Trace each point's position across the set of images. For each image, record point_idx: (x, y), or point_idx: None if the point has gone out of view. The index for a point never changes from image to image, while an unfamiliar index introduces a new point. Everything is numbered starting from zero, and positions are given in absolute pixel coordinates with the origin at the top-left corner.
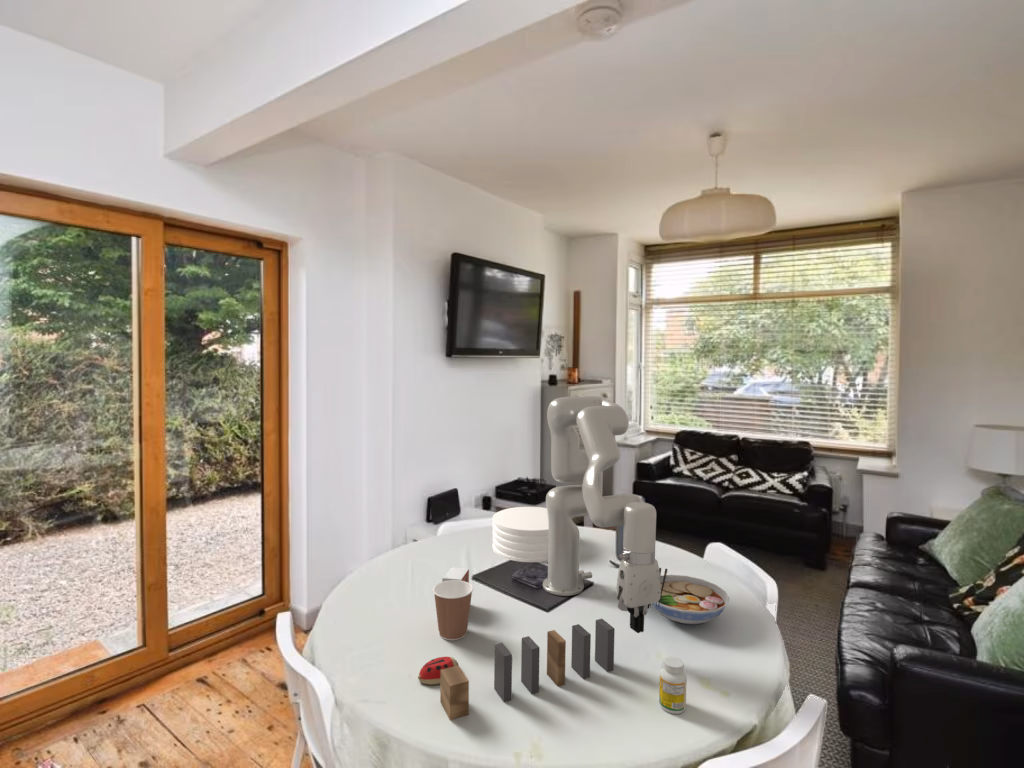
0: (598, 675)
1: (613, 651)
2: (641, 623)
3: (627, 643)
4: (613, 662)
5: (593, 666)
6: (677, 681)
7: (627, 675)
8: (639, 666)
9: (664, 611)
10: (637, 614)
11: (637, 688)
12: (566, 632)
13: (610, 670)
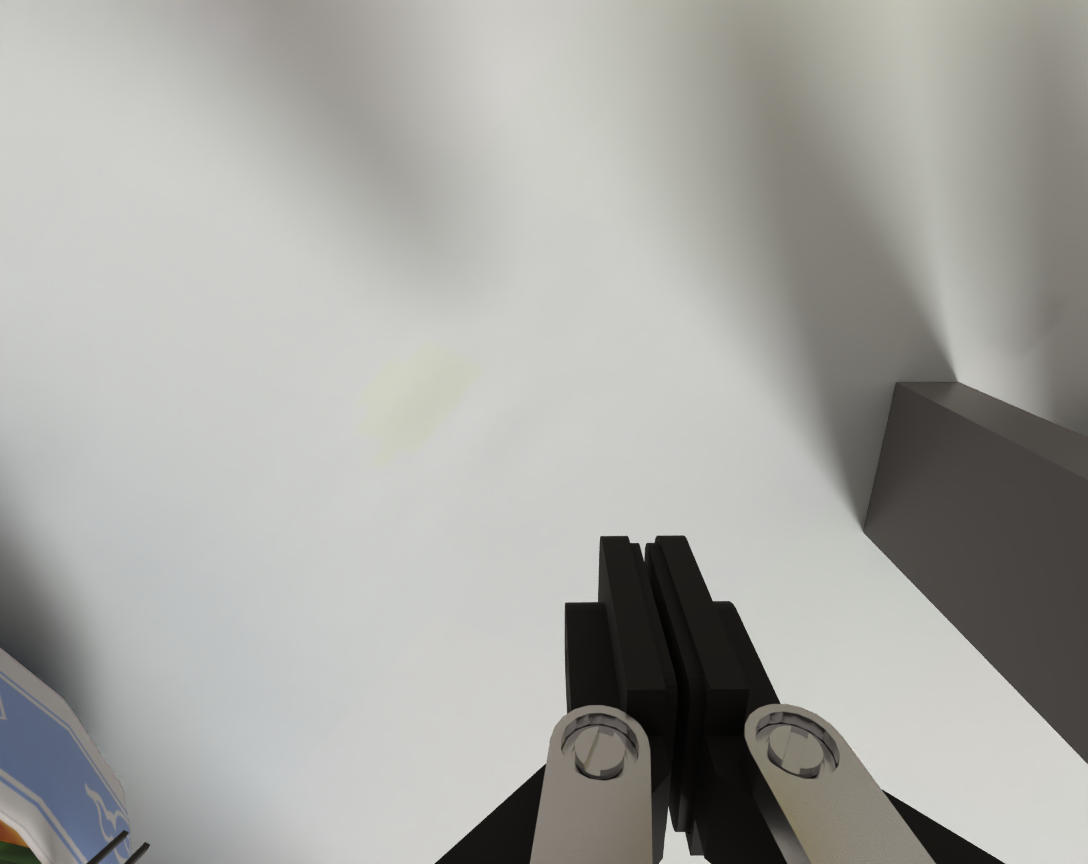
0: (1046, 374)
1: (1018, 442)
2: (652, 610)
3: (550, 611)
4: (939, 403)
5: None
6: None
7: (855, 279)
8: (676, 342)
9: (76, 777)
10: (780, 748)
11: (931, 77)
12: None
13: (928, 384)
